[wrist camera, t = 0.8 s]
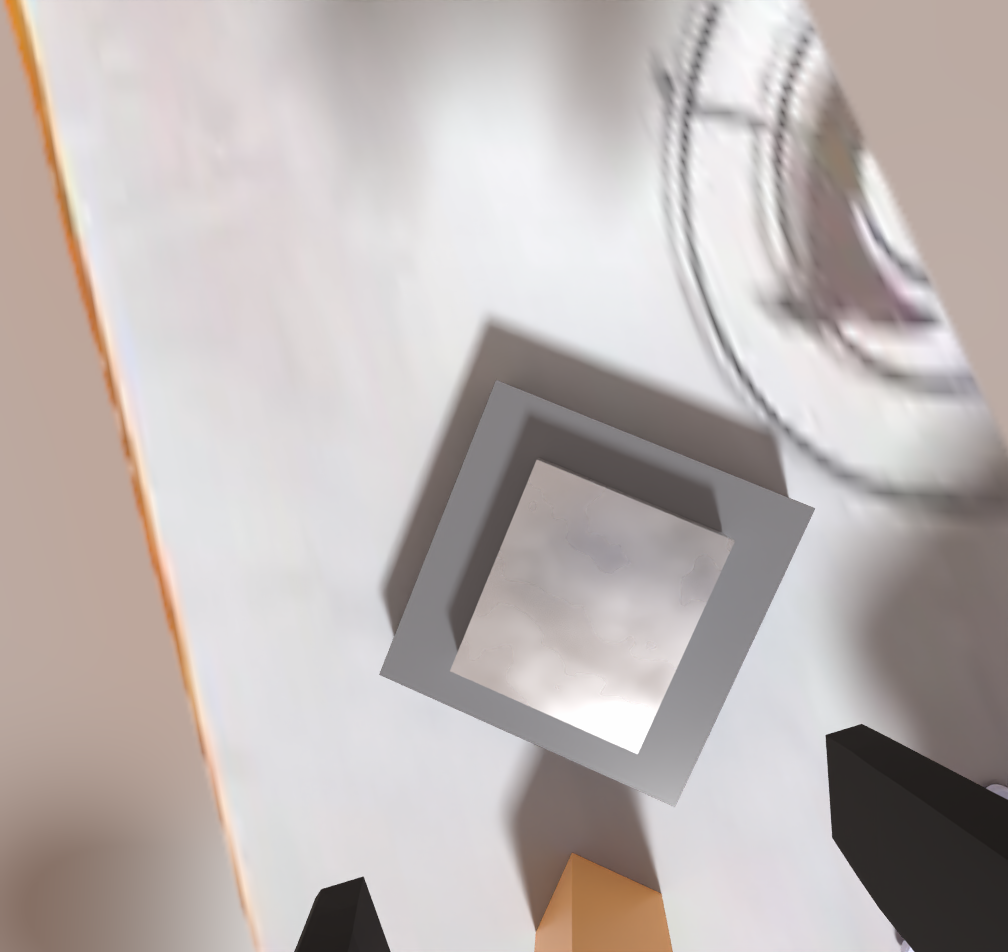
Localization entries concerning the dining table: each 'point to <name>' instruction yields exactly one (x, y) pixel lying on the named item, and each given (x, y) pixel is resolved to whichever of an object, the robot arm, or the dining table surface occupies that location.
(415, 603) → the socket plate
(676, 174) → the dining table surface
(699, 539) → the panel
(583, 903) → the plug
